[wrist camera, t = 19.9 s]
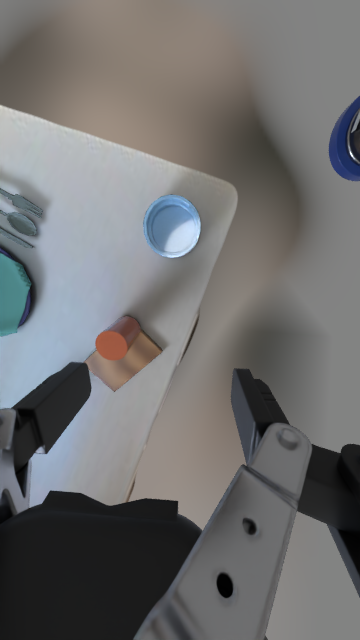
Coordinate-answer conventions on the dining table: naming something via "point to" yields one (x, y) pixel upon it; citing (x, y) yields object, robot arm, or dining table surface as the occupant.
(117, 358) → the terracotta cylindrical canister
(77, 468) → the dining table surface
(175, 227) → the bowl
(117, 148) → the dining table surface
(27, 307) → the cutlery set
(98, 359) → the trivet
